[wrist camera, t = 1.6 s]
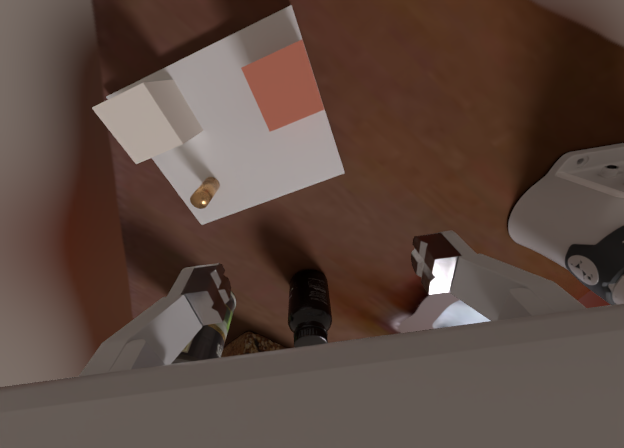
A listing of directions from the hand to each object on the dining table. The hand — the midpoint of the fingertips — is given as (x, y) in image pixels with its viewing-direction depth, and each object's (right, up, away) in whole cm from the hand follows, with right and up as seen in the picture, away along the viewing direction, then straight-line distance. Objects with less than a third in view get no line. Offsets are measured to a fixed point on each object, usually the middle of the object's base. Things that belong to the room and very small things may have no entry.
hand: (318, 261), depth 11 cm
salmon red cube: (-3, +17, +17) cm, 24 cm away
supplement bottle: (-1, -9, +34) cm, 36 cm away
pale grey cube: (-17, +14, +18) cm, 28 cm away
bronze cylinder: (-14, +7, +22) cm, 27 cm away
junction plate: (-9, +12, +20) cm, 26 cm away
